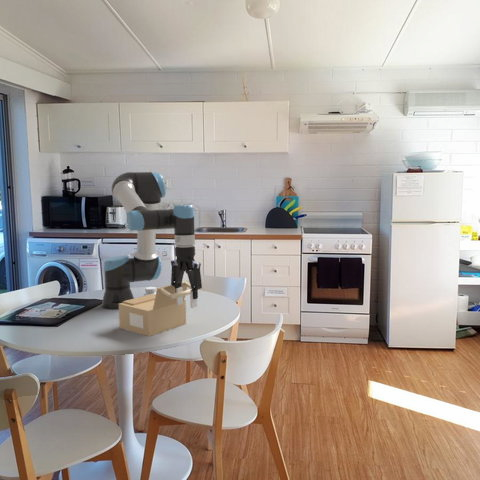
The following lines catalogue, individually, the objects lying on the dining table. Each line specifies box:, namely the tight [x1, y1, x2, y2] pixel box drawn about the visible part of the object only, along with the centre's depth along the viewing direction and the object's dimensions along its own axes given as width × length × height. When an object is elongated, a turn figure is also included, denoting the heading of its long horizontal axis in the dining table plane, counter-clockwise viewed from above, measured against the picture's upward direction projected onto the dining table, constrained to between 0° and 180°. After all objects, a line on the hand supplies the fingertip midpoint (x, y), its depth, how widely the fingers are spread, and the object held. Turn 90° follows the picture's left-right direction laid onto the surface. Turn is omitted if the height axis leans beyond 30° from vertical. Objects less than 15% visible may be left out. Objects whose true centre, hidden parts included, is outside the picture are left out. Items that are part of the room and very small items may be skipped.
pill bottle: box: [143, 286, 157, 296], centre depth 207 cm, size 6×6×12 cm
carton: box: [118, 294, 187, 337], centre depth 189 cm, size 18×20×11 cm
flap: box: [153, 280, 200, 310], centre depth 179 cm, size 10×16×8 cm
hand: (186, 305), depth 176 cm, fingers open, 7 cm apart
